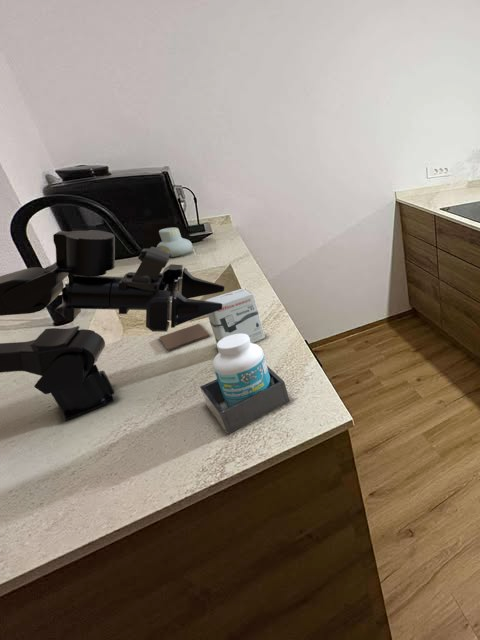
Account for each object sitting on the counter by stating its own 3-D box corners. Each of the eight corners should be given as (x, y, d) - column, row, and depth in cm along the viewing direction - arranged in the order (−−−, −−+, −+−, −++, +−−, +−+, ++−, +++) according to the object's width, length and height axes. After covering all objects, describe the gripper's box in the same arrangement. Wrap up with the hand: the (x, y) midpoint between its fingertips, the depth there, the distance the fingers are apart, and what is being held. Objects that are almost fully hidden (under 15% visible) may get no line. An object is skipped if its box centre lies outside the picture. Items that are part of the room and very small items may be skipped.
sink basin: (227, 434, 61) (219, 413, 60) (207, 406, 68) (199, 386, 66) (289, 401, 68) (284, 381, 67) (266, 378, 75) (260, 359, 73)
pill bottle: (227, 424, 63) (202, 358, 58) (230, 397, 70) (208, 335, 64) (276, 409, 67) (257, 345, 61) (275, 385, 73) (258, 325, 67)
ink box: (226, 355, 82) (210, 307, 77) (217, 347, 85) (201, 300, 80) (266, 337, 88) (254, 292, 84) (257, 331, 91) (244, 287, 86)
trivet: (169, 351, 84) (168, 349, 83) (160, 339, 88) (159, 336, 88) (210, 336, 89) (209, 334, 89) (199, 325, 94) (198, 323, 94)
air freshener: (198, 252, 145) (190, 227, 141) (177, 259, 138) (168, 233, 134) (177, 250, 148) (168, 225, 144) (155, 257, 141) (145, 231, 137)
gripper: (97, 266, 56) (224, 274, 64) (128, 235, 70) (228, 245, 79) (98, 333, 58) (219, 332, 67) (127, 290, 73) (224, 294, 82)
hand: (223, 297), depth 74 cm, fingers open, 9 cm apart
